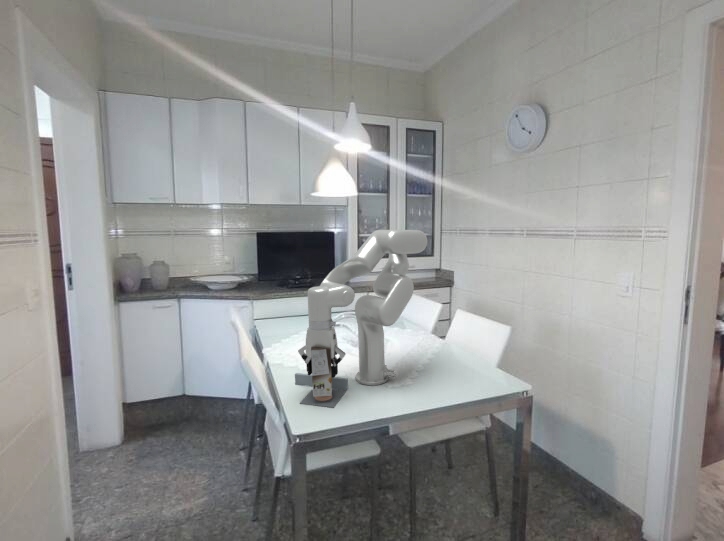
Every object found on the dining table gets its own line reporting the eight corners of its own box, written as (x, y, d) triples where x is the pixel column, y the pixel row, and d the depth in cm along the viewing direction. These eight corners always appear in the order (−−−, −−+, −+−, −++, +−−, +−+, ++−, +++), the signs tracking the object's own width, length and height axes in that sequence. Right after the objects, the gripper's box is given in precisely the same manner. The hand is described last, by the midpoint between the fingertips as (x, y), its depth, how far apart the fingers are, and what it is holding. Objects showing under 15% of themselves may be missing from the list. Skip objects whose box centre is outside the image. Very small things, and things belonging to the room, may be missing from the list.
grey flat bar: (348, 388, 137) (347, 378, 136) (346, 390, 136) (346, 379, 135) (296, 383, 143) (296, 372, 142) (295, 384, 141) (294, 374, 141)
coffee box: (332, 396, 126) (330, 348, 124) (312, 397, 126) (310, 349, 123) (332, 384, 135) (330, 339, 133) (314, 385, 135) (312, 340, 132)
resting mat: (346, 391, 135) (346, 390, 135) (333, 408, 123) (333, 406, 123) (314, 387, 138) (314, 386, 138) (299, 403, 127) (299, 402, 127)
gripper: (349, 322, 128) (350, 373, 131) (301, 319, 133) (303, 368, 136) (341, 329, 121) (343, 382, 124) (291, 325, 126) (293, 376, 129)
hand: (322, 374), depth 130 cm, fingers closed on coffee box, 8 cm apart
